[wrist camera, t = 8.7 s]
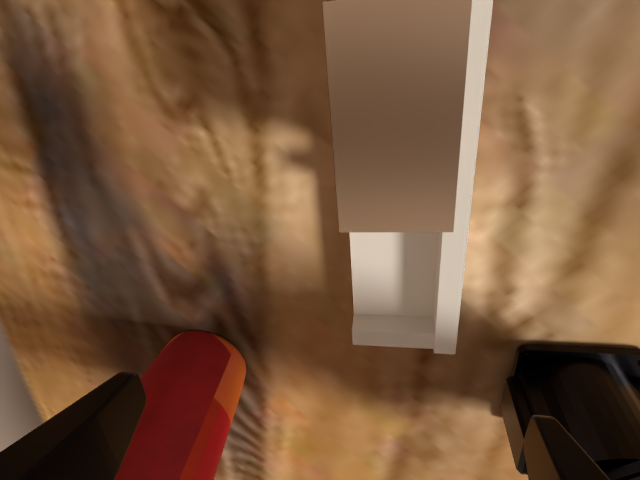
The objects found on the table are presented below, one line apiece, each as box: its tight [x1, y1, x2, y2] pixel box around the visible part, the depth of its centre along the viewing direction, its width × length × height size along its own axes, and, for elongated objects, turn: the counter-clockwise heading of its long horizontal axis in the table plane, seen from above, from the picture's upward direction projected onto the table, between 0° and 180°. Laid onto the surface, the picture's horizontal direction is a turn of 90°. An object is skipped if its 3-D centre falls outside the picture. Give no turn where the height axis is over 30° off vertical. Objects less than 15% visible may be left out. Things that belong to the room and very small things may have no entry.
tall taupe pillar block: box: [322, 0, 472, 232], centre depth 13 cm, size 6×3×7 cm, turn 5°
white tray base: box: [349, 0, 493, 354], centre depth 18 cm, size 5×17×3 cm, turn 5°
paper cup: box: [114, 330, 246, 480], centre depth 22 cm, size 8×8×14 cm
